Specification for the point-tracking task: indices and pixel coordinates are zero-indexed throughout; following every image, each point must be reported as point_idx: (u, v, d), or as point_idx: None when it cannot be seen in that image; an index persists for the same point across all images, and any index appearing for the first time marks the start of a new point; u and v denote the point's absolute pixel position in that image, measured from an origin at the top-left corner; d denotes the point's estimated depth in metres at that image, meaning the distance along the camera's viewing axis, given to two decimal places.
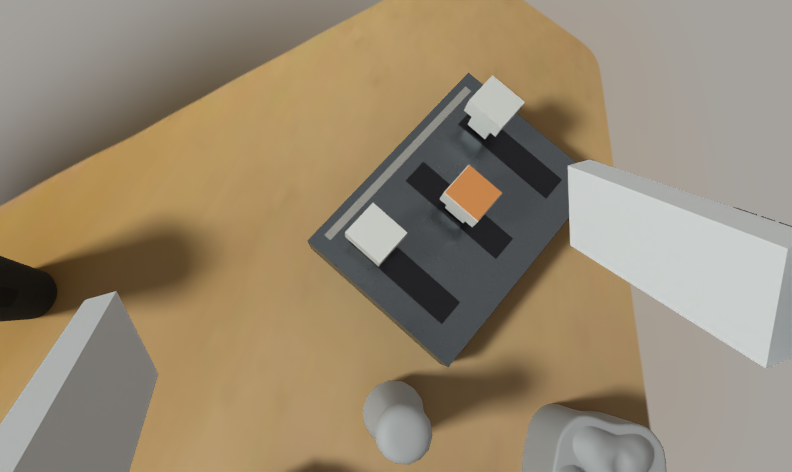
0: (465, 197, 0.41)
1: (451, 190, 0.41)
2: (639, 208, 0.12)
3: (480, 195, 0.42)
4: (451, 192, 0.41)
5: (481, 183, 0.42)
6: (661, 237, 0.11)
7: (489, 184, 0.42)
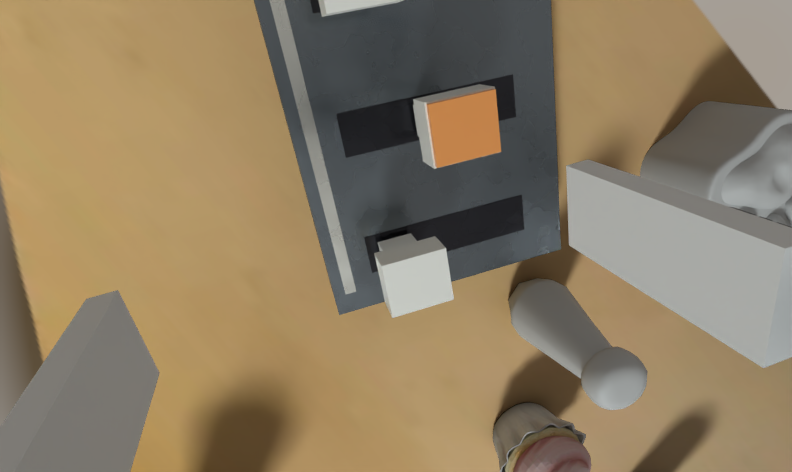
0: (463, 146, 0.25)
1: (441, 158, 0.25)
2: (637, 208, 0.12)
3: (476, 123, 0.25)
4: (443, 160, 0.25)
5: (463, 108, 0.25)
6: (660, 237, 0.11)
7: (472, 98, 0.25)
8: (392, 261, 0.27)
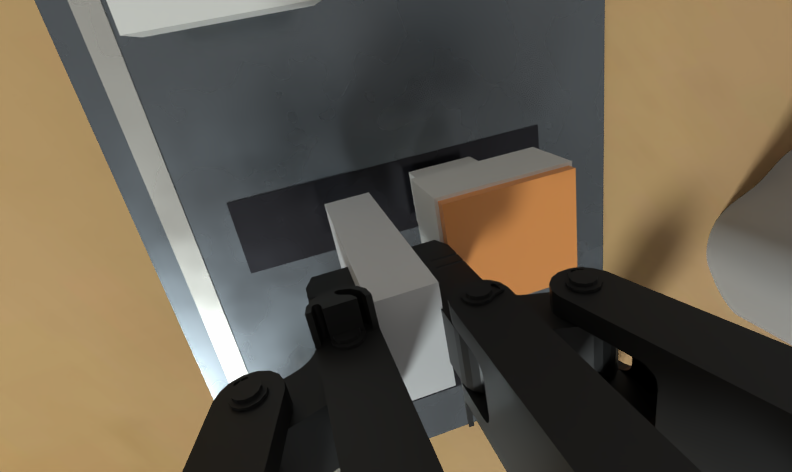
0: (509, 275, 0.13)
1: None
2: None
3: (535, 232, 0.13)
4: None
5: (512, 207, 0.12)
6: None
7: (531, 186, 0.12)
8: None
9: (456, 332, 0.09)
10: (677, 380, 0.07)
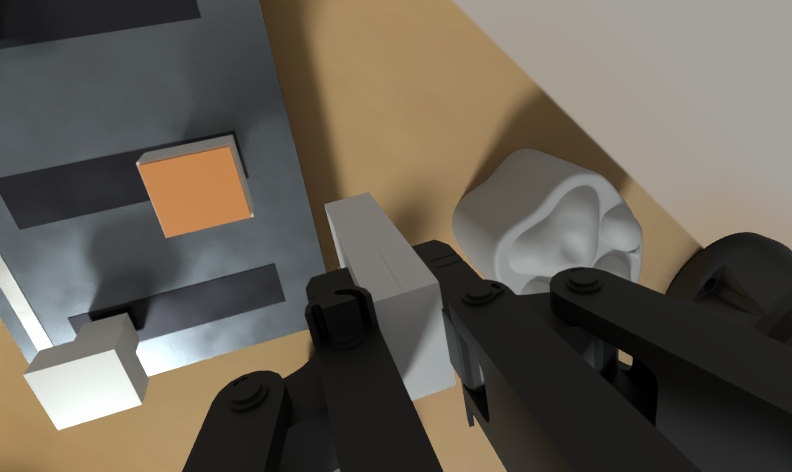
0: (198, 212, 0.21)
1: (170, 227, 0.21)
2: None
3: (210, 186, 0.21)
4: (173, 229, 0.21)
5: (189, 169, 0.20)
6: None
7: (199, 157, 0.20)
8: (41, 367, 0.22)
9: (457, 332, 0.09)
10: (677, 380, 0.07)
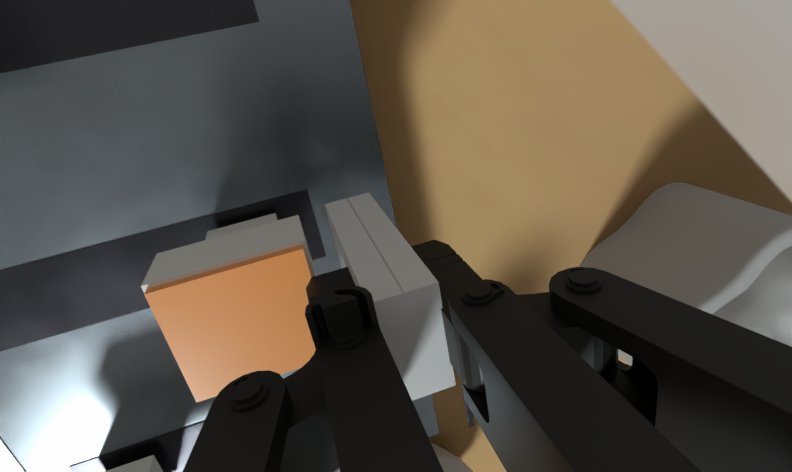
0: (249, 358, 0.12)
1: (202, 386, 0.12)
2: None
3: (270, 315, 0.12)
4: (208, 388, 0.12)
5: (233, 292, 0.12)
6: None
7: (252, 270, 0.12)
8: None
9: (456, 332, 0.09)
10: (677, 380, 0.07)
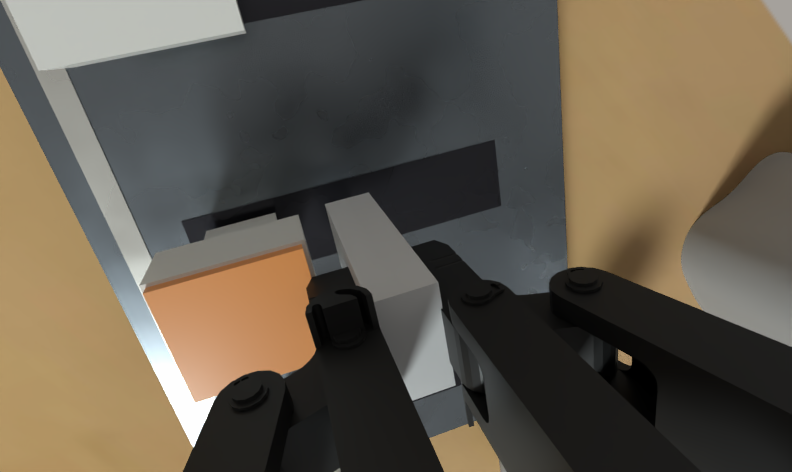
0: (248, 359, 0.12)
1: (201, 386, 0.12)
2: None
3: (269, 315, 0.12)
4: (207, 389, 0.12)
5: (232, 292, 0.11)
6: None
7: (251, 269, 0.11)
8: None
9: (456, 332, 0.09)
10: (677, 380, 0.07)
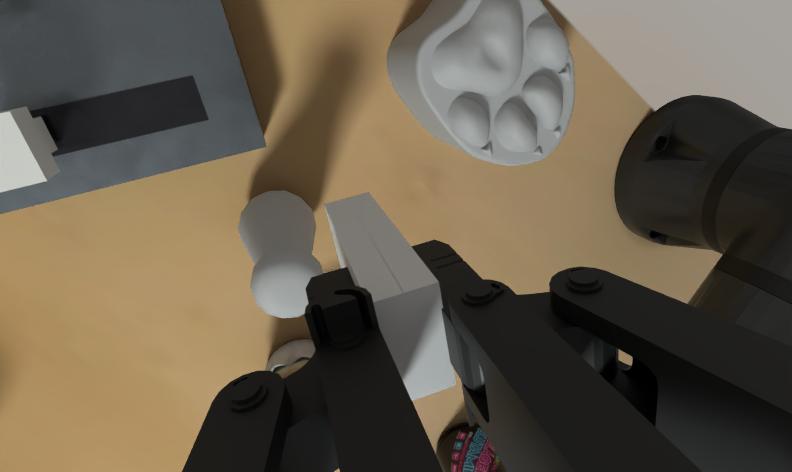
0: None
1: None
2: None
3: None
4: None
5: None
6: None
7: None
8: None
9: (457, 332, 0.09)
10: (677, 380, 0.07)
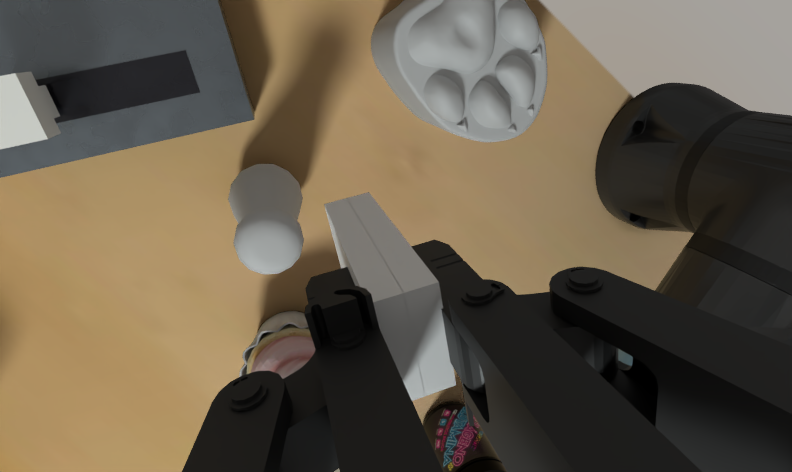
0: None
1: None
2: None
3: None
4: None
5: None
6: None
7: None
8: None
9: (457, 332, 0.09)
10: (677, 380, 0.07)
